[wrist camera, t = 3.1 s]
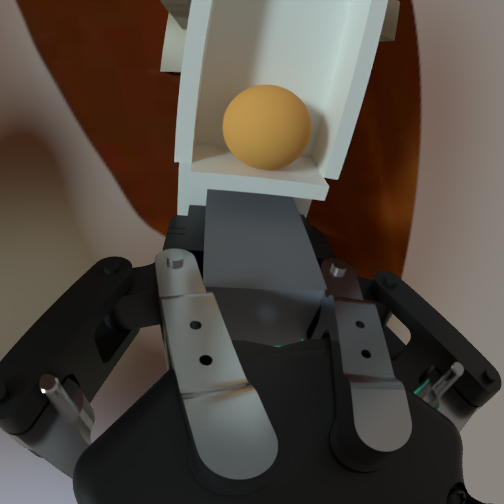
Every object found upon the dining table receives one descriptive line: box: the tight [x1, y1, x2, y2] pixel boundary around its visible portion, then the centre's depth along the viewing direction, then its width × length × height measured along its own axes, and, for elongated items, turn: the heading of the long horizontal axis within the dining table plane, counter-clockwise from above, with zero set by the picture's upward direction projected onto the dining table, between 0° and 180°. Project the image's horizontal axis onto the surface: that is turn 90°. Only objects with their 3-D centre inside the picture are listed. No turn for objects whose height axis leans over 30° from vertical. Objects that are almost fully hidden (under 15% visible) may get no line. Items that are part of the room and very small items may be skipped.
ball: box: [222, 85, 312, 170], centre depth 9 cm, size 3×3×3 cm
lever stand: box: [160, 0, 400, 72], centre depth 11 cm, size 8×11×10 cm
